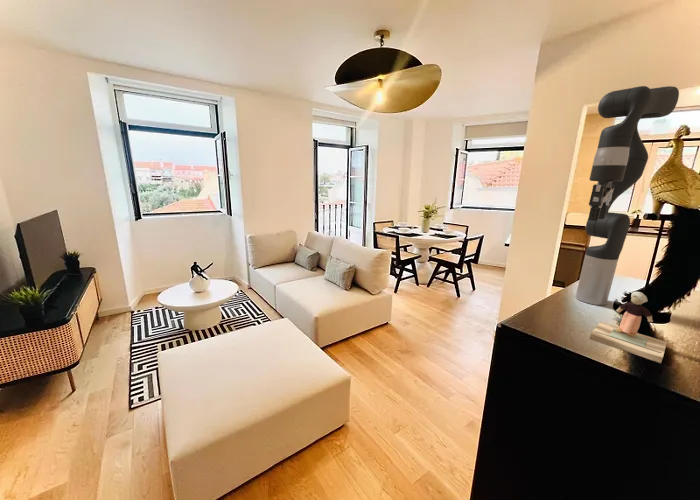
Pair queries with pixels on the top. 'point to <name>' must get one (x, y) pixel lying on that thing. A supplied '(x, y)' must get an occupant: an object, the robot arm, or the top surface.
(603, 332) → the oak board
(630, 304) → the grandmother figurine
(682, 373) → the top surface
